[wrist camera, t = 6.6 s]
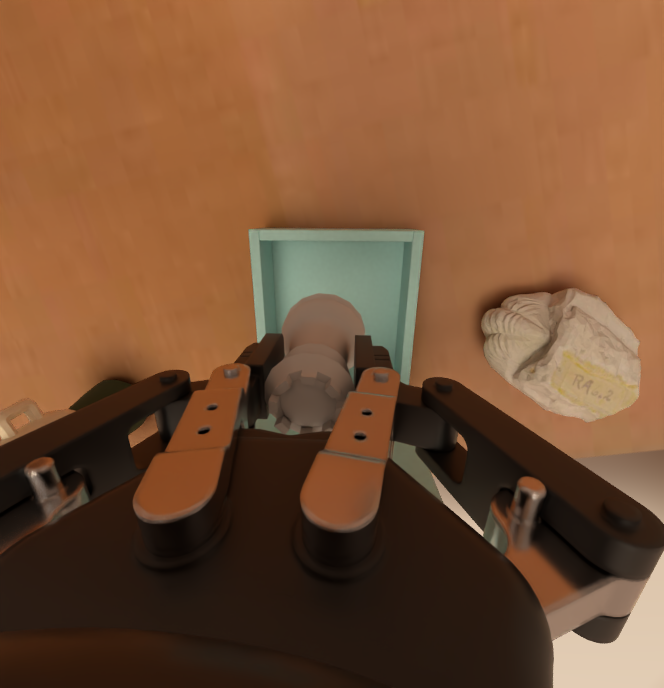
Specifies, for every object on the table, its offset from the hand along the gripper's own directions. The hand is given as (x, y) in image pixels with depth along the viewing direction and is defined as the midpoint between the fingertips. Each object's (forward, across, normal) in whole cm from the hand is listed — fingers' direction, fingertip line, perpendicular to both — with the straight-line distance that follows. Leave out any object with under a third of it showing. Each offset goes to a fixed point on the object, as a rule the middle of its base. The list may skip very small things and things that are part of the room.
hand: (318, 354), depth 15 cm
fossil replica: (+17, -19, +4) cm, 25 cm away
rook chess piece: (+4, 0, 0) cm, 4 cm away
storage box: (+17, 0, +3) cm, 17 cm away
